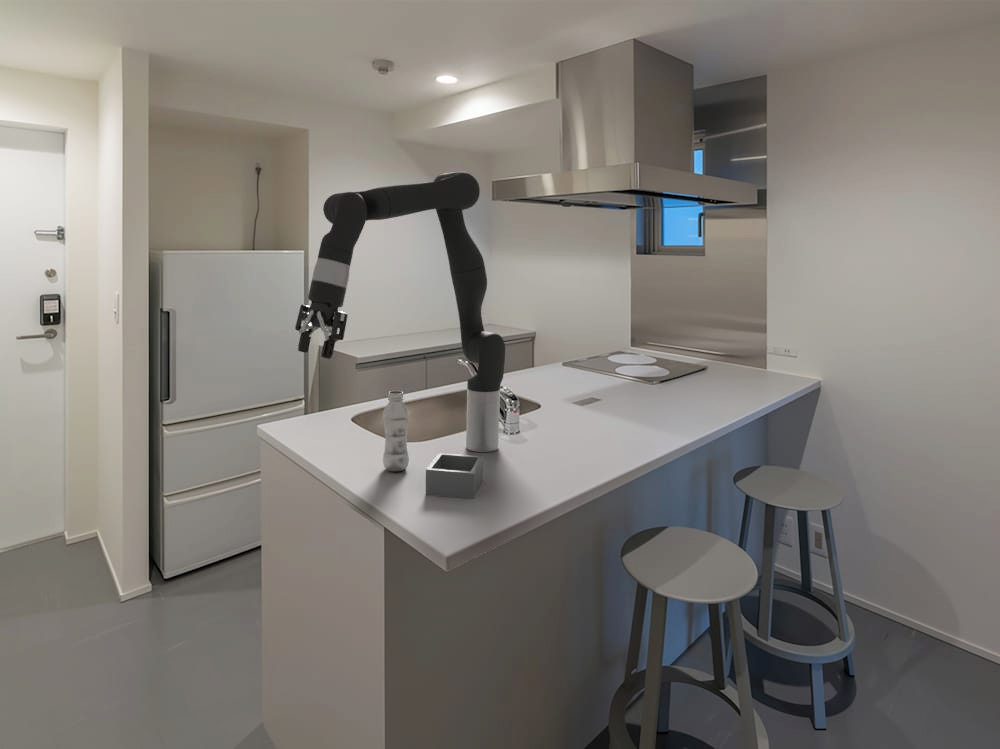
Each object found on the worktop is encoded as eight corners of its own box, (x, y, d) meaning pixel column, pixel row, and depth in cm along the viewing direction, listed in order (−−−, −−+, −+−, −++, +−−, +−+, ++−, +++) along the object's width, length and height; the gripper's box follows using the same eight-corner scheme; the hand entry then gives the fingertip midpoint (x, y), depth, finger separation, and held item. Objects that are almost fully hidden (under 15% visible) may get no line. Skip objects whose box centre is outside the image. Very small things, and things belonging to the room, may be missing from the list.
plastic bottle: (410, 465, 152) (410, 389, 149) (407, 474, 146) (407, 395, 142) (385, 465, 152) (384, 389, 148) (380, 474, 146) (380, 395, 142)
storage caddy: (438, 476, 145) (438, 452, 144) (482, 479, 144) (483, 456, 143) (425, 494, 134) (425, 469, 133) (473, 498, 132) (474, 473, 131)
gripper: (363, 289, 129) (347, 362, 129) (323, 283, 137) (309, 352, 137) (335, 281, 123) (319, 358, 123) (296, 275, 131) (280, 347, 131)
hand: (313, 354), depth 130 cm, fingers open, 8 cm apart
